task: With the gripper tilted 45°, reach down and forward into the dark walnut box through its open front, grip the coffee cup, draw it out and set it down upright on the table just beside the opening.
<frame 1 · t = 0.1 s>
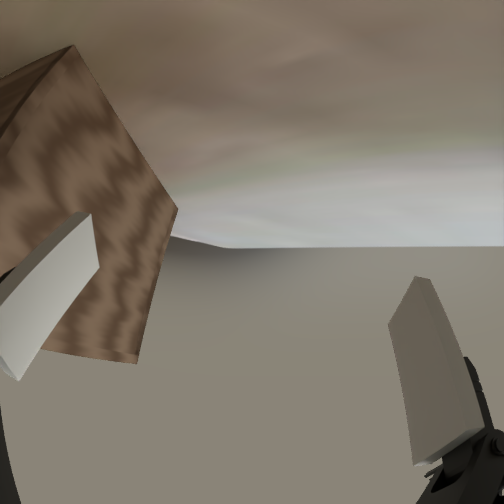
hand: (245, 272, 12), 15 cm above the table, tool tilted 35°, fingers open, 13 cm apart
walnut box: (80, 149, 32), on the table
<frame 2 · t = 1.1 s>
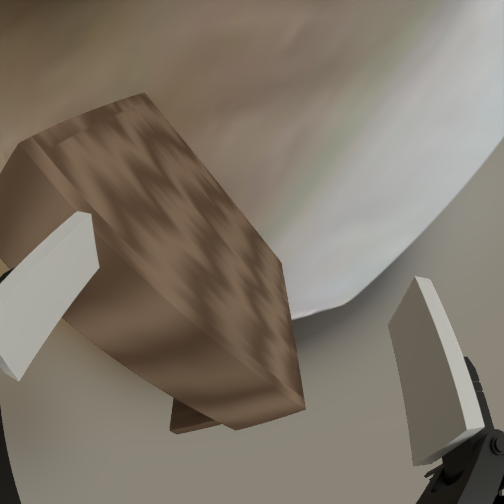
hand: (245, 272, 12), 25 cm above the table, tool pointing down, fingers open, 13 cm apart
walnut box: (165, 221, 38), on the table
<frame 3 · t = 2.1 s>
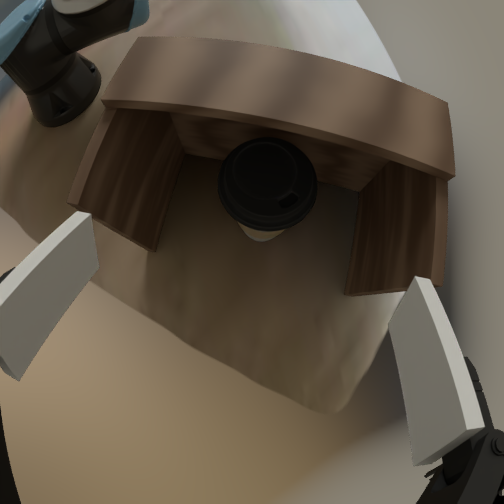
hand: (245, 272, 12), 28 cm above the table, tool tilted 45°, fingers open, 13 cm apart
coffee cup: (261, 220, 41), on the table
walnut box: (261, 219, 41), on the table
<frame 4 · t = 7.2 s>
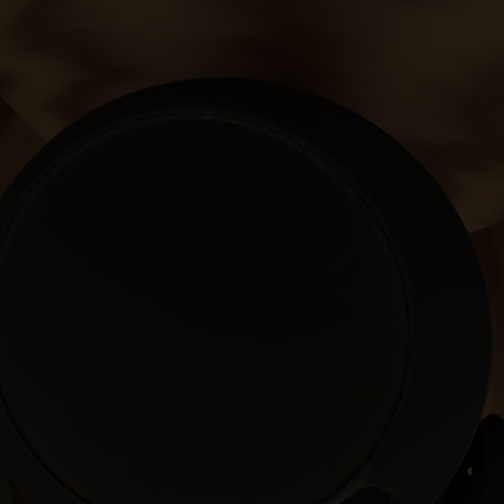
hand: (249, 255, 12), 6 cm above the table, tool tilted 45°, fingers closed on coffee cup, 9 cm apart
coffee cup: (239, 325, 18), on the table, touching gripper
walnut box: (239, 325, 18), on the table
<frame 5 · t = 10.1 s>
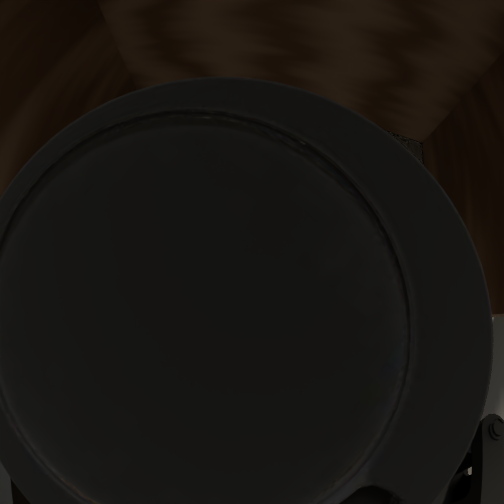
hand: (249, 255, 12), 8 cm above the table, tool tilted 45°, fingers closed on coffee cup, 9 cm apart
coffee cup: (239, 325, 18), point 2 cm above the table, touching gripper
walnut box: (263, 182, 22), on the table
when the fingers open (7 cm above the table, at t = 13.2 s): coffee cup drops 1 cm, on the table.
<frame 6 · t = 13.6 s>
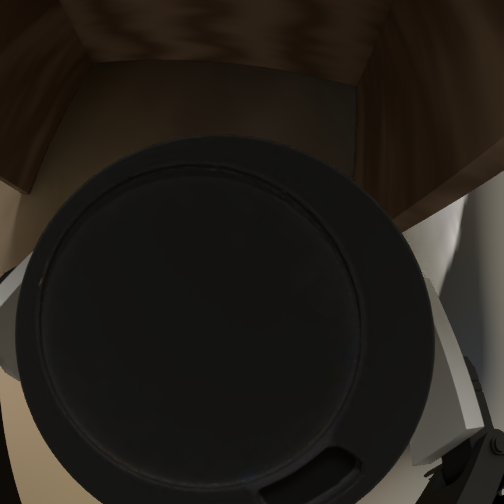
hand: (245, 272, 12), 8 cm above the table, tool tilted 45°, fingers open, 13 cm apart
coffee cup: (239, 324, 19), on the table
walnut box: (186, 125, 22), on the table
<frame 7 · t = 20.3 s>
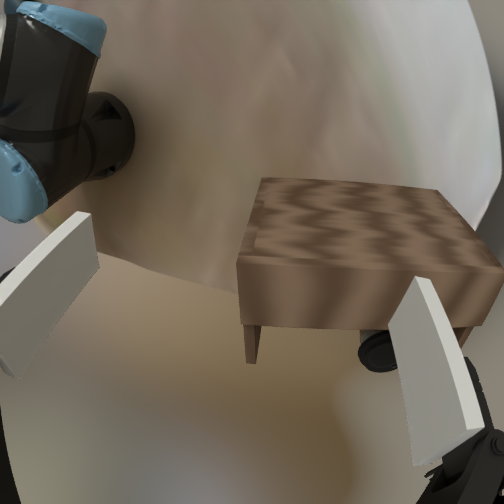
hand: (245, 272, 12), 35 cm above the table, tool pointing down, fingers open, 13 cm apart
coffee cup: (373, 295, 55), on the table
walnut box: (349, 232, 48), on the table
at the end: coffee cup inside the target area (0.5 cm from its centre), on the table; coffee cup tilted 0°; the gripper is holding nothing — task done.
